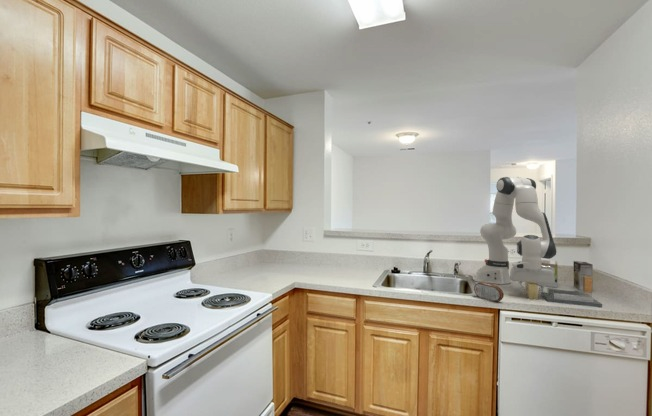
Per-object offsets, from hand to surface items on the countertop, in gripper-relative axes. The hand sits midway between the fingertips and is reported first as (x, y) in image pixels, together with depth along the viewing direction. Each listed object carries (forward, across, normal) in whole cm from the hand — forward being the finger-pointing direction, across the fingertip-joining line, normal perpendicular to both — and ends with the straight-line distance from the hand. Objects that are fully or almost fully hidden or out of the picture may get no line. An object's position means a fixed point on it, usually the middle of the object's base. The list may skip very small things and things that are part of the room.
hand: (531, 290), depth 162 cm
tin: (+4, +22, +14) cm, 27 cm away
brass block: (+4, 0, 0) cm, 4 cm away
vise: (+4, -17, 0) cm, 17 cm away
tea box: (+4, -16, -38) cm, 41 cm away
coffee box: (+4, -32, -32) cm, 45 cm away
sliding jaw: (+2, -18, -7) cm, 20 cm away
